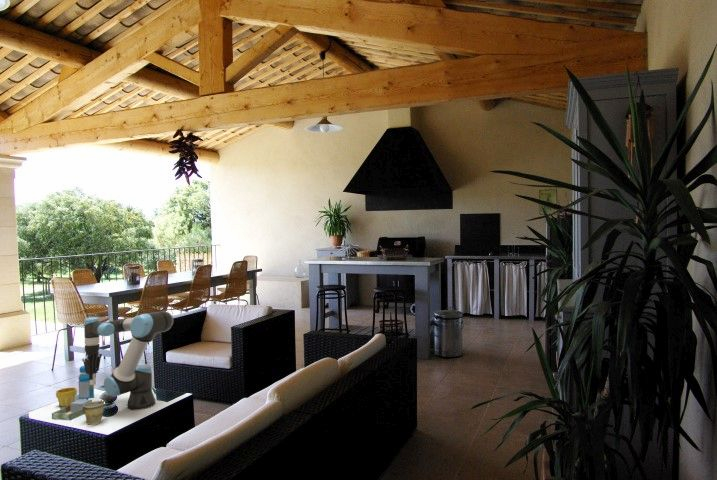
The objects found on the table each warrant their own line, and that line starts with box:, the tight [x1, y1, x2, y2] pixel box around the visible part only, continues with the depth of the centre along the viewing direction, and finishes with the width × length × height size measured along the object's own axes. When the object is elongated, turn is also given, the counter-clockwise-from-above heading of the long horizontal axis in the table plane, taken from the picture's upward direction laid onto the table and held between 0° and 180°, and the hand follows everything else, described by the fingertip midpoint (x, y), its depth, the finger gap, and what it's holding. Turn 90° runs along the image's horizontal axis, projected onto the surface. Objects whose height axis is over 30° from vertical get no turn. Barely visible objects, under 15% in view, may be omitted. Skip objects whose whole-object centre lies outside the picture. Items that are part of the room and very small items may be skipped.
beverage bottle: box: [77, 365, 95, 400], centre depth 296 cm, size 8×8×20 cm
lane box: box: [51, 398, 103, 421], centre depth 270 cm, size 12×25×4 cm, turn 168°
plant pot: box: [55, 387, 78, 408], centre depth 283 cm, size 10×10×10 cm
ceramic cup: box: [83, 400, 107, 426], centre depth 257 cm, size 13×10×10 cm
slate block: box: [70, 398, 93, 412], centre depth 272 cm, size 8×7×5 cm
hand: (92, 384), depth 281 cm, fingers closed
